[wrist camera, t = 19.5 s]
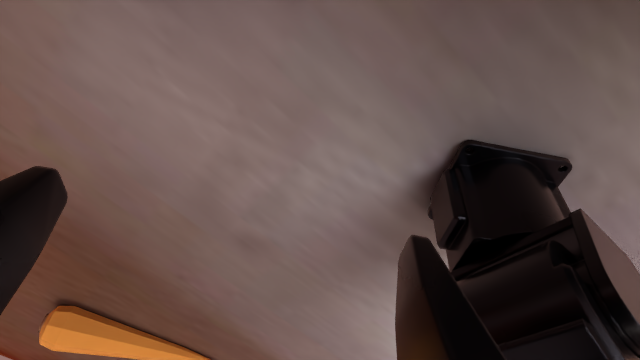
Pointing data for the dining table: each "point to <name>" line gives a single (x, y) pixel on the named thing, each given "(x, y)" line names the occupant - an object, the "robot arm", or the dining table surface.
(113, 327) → the carrot
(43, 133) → the dining table surface
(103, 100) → the dining table surface
